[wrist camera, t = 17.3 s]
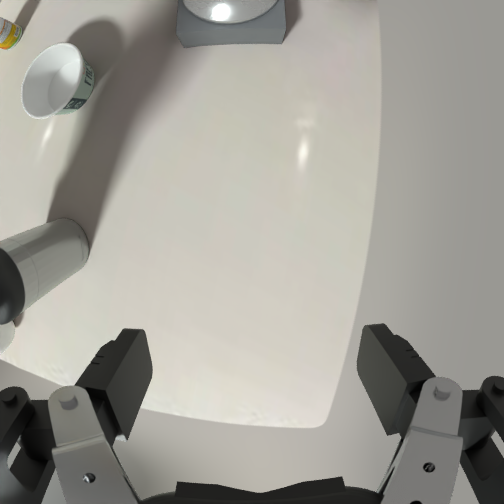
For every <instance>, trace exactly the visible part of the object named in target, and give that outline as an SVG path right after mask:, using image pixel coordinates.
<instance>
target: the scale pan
mask: <svg viewBox="0 0 504 504" xmlns="http://www.w3.org/2000/svg"><path fill="white" fill-rule="evenodd" d="M277 1H278V0H183V2H184V5H185V7H186V8H187V10H188V11H189V12H190V13H191V14H192V15H194V16H195V17H197V18H198V19H200V20H203V21H205V22H209V23H212V24H218V25H237V24H243V23H247V22H250V21H253V20H256V19H258V18H260V17H262V16H263V15H265V14H266V13H268V12H269V11H270V10H271V9H272V8H273V7H274V6H275V4H276V3H277Z"/></svg>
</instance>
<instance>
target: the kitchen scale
mask: <svg viewBox="0 0 504 504" xmlns="http://www.w3.org/2000/svg"><path fill="white" fill-rule="evenodd" d="M285 31H286V20H285V4H284V0H278V1H277V3H276V4H275V6H274V7H273V8H272V9H271V10H270V11H269V12H268V13H266V14H265V15H263V16H262V17H260V18H258V19H256V20H253V21H250V22H247V23H243V24H237V25H218V24H212V23H209V22H205V21H203V20H200V19H198V18H197V17H195V16H194V15H192V14H191V13H190V12H189V11H188V10H187V8H186V7H185V5H184V2H183V0H178V11H177V25H176V35H177V36H178V38H179V40H180V42H181V43H182V45H183V47H184V48H185V47H195V46H207V45H223V44H282V41H283V38H284V34H285Z"/></svg>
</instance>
